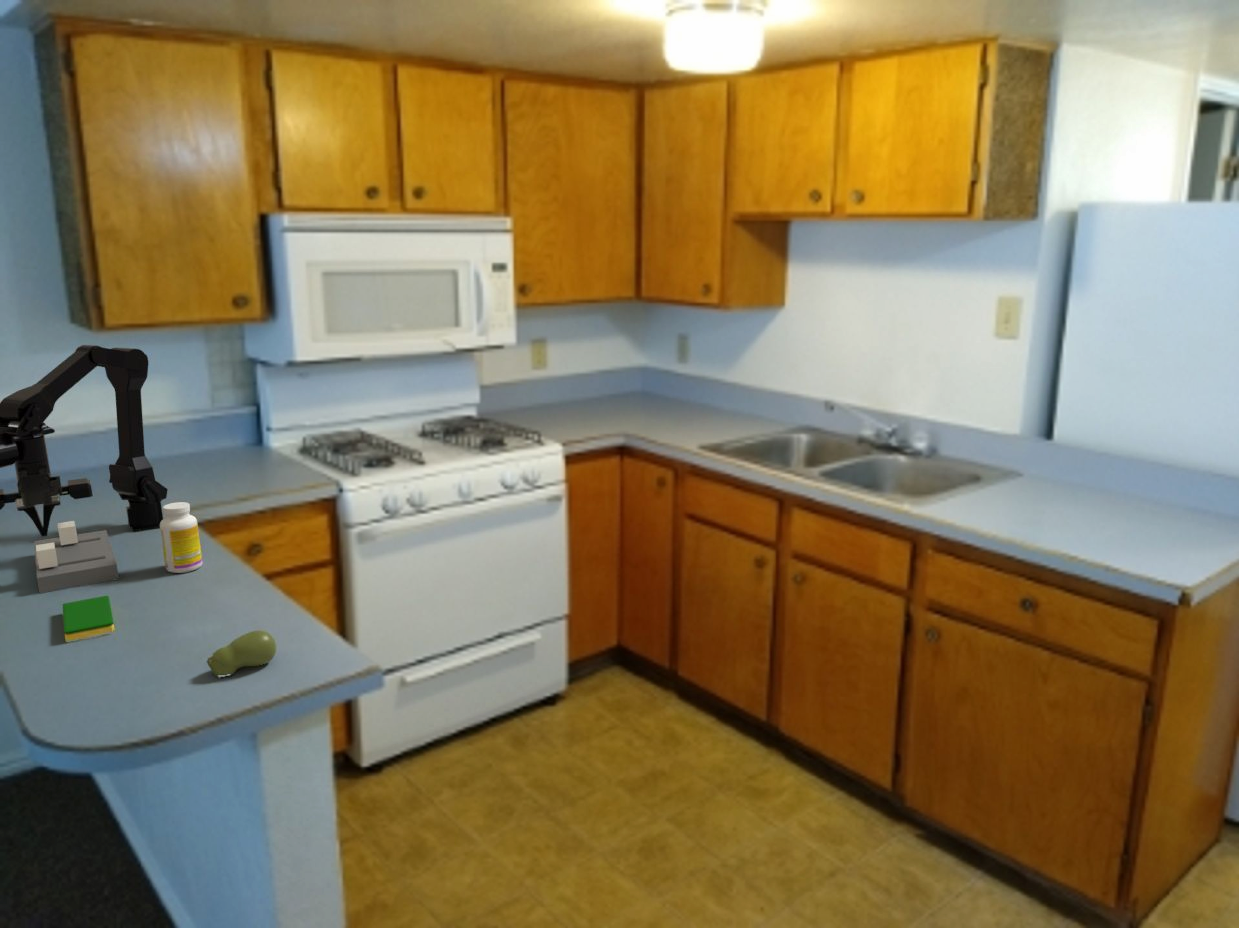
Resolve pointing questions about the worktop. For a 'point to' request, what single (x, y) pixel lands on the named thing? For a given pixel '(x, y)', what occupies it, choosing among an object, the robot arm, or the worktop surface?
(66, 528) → the cream matte cube
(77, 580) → the grey slider switch panel
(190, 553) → the supplement bottle
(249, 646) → the pear
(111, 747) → the worktop surface
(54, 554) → the on handle
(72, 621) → the dish sponge
